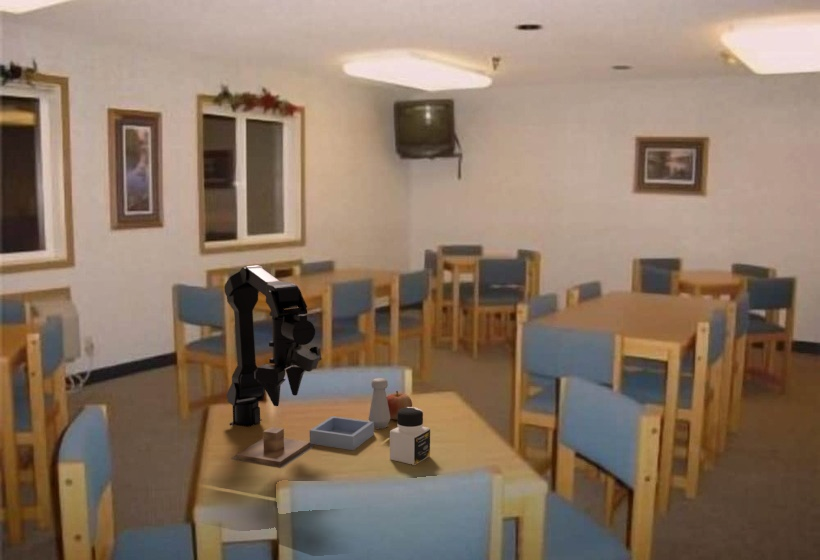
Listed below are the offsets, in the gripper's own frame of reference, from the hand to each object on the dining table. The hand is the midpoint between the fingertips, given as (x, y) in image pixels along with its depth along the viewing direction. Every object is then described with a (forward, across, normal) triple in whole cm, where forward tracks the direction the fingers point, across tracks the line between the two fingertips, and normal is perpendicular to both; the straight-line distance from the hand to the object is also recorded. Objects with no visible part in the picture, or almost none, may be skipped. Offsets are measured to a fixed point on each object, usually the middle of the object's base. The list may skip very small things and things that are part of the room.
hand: (285, 400), depth 185 cm
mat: (+13, -3, +2) cm, 13 cm away
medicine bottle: (+13, +6, -30) cm, 33 cm away
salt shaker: (+13, +25, -14) cm, 32 cm away
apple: (+13, +33, -16) cm, 39 cm away
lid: (+12, -3, +2) cm, 13 cm away
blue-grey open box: (+13, +11, -10) cm, 20 cm away
